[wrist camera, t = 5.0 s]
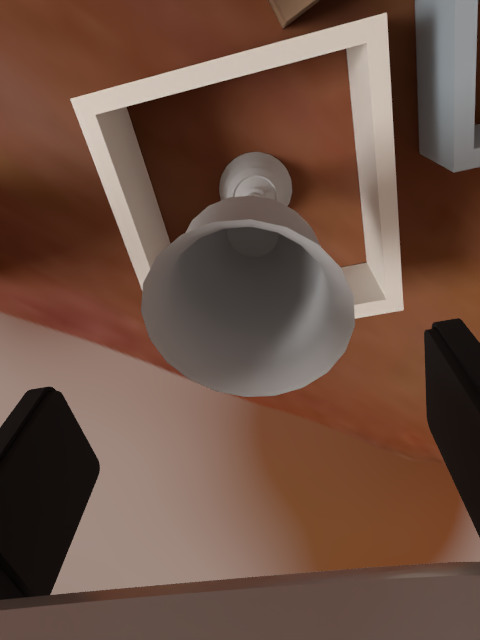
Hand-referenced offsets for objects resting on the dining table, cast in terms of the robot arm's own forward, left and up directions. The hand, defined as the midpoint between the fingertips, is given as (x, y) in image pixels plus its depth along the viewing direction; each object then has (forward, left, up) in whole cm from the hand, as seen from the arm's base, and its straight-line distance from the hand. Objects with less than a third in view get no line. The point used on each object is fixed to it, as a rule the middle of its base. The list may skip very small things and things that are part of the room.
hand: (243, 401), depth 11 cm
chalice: (0, 0, -22) cm, 22 cm away
